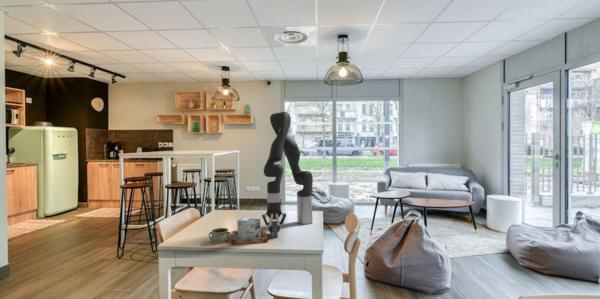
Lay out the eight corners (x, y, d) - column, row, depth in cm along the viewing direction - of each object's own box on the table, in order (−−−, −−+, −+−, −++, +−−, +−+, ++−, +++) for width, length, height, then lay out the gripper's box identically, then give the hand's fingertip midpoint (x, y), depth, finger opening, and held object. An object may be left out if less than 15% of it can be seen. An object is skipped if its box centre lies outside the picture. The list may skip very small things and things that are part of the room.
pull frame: (275, 232, 180) (275, 218, 180) (279, 241, 162) (279, 226, 162) (232, 234, 175) (232, 220, 175) (231, 244, 158) (231, 229, 158)
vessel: (233, 239, 168) (233, 227, 168) (229, 244, 159) (229, 232, 159) (211, 239, 168) (211, 227, 168) (206, 244, 159) (205, 232, 159)
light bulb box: (261, 238, 170) (260, 218, 170) (255, 241, 163) (255, 221, 163) (243, 236, 173) (243, 216, 173) (237, 239, 167) (236, 219, 167)
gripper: (285, 199, 176) (286, 229, 176) (260, 200, 173) (260, 231, 173) (287, 201, 168) (288, 233, 169) (261, 202, 166) (261, 235, 166)
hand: (274, 232), depth 171 cm, fingers closed on pull frame, 3 cm apart
